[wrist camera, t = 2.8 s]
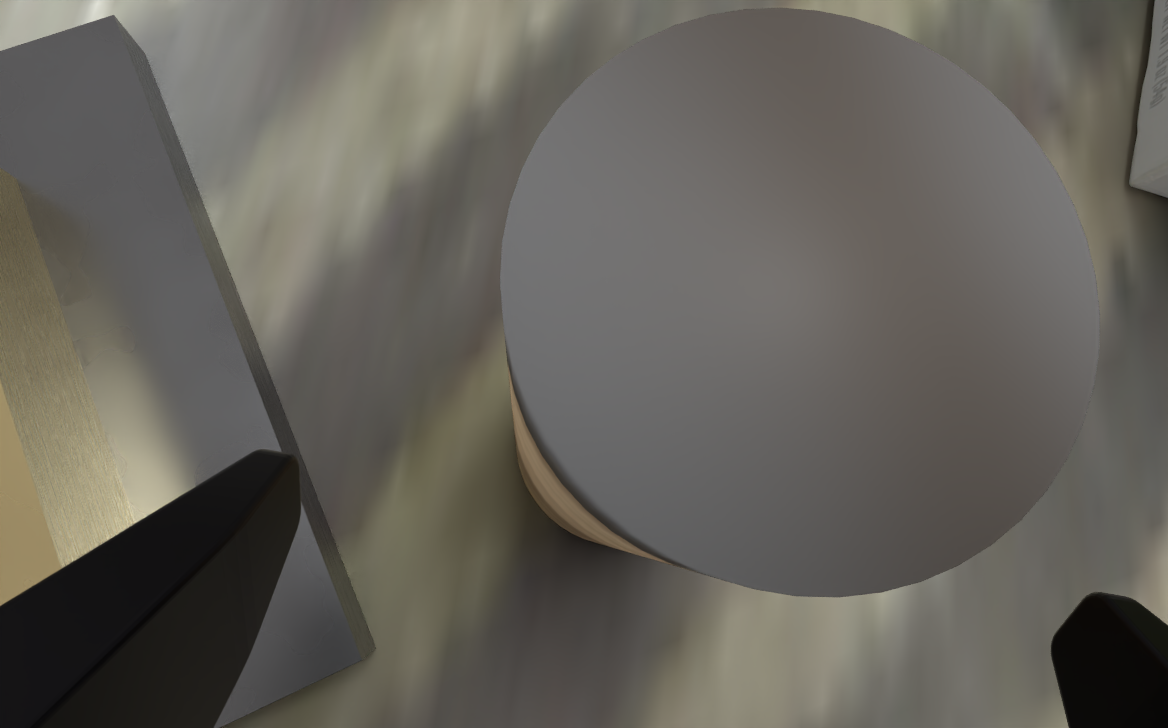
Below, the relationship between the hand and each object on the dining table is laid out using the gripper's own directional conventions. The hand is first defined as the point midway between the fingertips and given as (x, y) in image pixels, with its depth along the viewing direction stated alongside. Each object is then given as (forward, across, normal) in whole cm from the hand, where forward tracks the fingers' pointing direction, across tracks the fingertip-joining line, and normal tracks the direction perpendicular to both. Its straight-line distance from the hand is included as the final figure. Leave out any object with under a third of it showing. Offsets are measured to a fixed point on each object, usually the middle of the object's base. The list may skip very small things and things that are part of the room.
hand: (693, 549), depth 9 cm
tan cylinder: (+8, 0, +5) cm, 10 cm away
